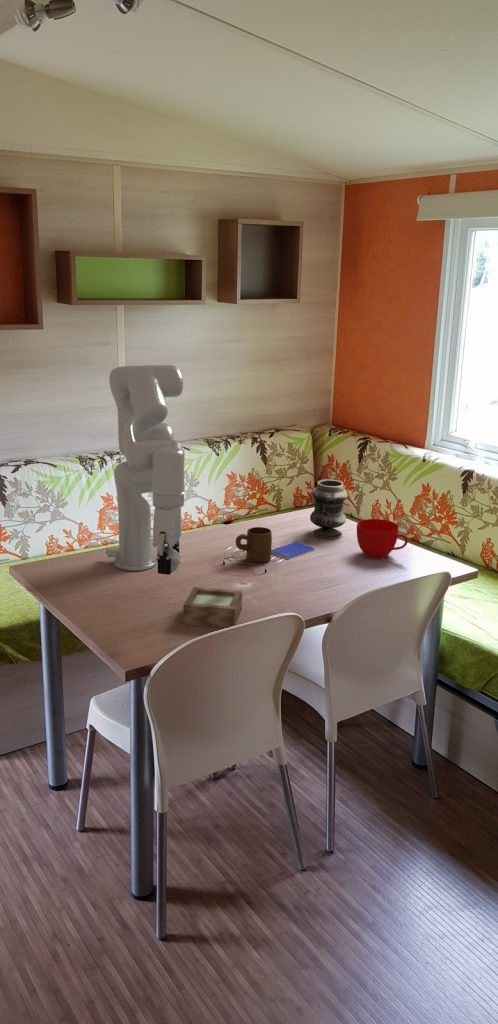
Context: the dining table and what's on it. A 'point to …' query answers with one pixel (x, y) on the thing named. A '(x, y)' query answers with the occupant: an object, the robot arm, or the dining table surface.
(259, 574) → the dining table surface
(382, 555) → the ceramic cup
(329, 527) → the apothecary jar
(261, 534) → the mug
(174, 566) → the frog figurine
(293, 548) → the hard drive
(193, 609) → the pedestal
